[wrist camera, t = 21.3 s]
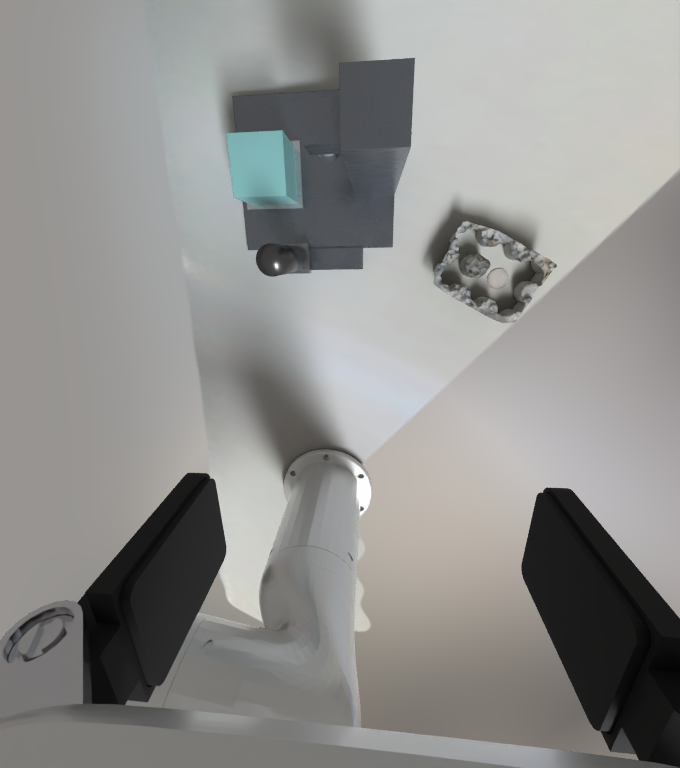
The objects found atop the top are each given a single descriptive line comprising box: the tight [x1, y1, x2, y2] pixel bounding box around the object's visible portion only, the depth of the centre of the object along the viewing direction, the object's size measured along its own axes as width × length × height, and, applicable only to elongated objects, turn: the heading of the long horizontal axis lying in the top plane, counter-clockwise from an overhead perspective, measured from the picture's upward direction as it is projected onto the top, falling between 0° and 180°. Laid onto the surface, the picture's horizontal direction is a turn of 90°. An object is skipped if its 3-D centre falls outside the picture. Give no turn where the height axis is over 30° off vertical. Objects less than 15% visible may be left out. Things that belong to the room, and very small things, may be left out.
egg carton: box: [434, 221, 556, 323], centre depth 37 cm, size 11×8×4 cm
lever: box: [256, 243, 311, 276], centre depth 34 cm, size 3×3×10 cm
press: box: [232, 58, 415, 270], centre depth 29 cm, size 16×16×18 cm
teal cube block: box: [226, 130, 298, 205], centre depth 33 cm, size 5×5×5 cm
